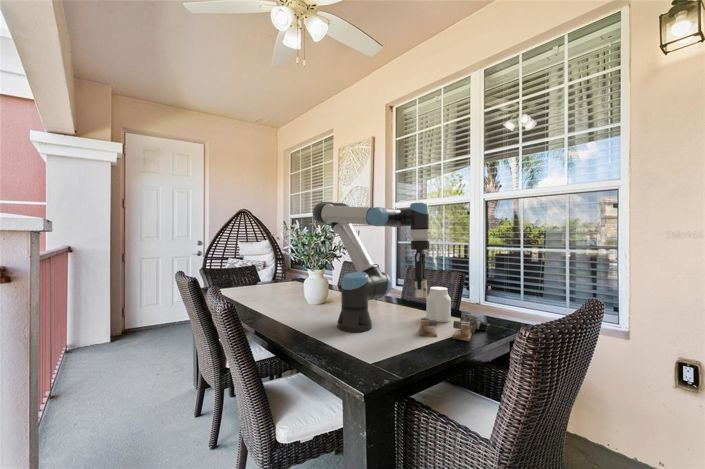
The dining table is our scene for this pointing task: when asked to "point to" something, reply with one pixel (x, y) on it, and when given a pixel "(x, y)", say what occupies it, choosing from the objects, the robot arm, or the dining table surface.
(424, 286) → the block
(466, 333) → the shaft right
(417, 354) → the dining table surface
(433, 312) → the jar
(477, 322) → the caster wheel
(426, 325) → the shaft left
